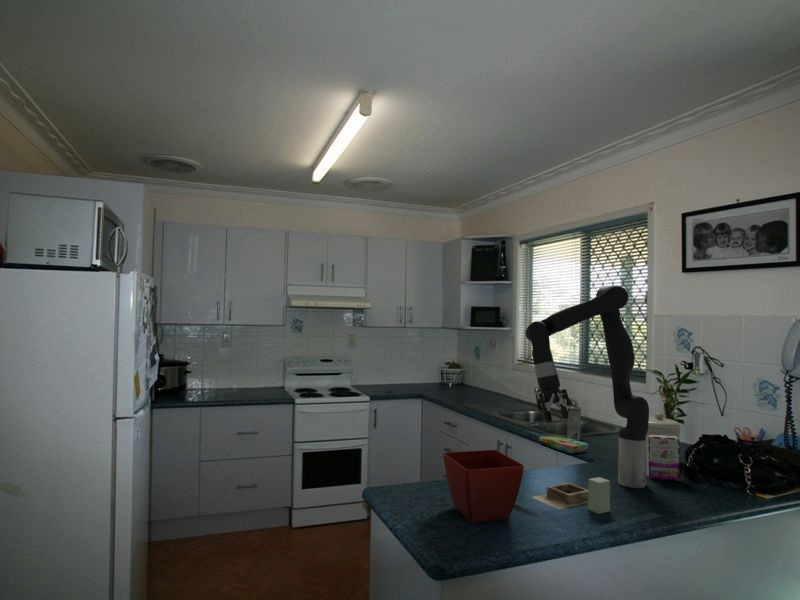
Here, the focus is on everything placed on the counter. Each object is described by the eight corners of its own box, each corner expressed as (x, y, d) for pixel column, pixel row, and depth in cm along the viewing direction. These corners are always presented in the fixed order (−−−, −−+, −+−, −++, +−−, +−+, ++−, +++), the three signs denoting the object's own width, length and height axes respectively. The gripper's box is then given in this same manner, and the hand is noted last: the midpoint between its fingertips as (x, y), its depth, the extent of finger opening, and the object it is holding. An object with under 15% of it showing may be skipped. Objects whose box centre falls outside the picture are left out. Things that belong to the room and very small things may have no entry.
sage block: (599, 509, 159) (599, 477, 160) (609, 513, 156) (610, 480, 156) (588, 511, 157) (588, 479, 157) (598, 516, 153) (599, 482, 154)
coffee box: (567, 436, 267) (568, 405, 267) (580, 437, 264) (581, 406, 265) (566, 440, 258) (567, 408, 259) (580, 441, 256) (580, 409, 257)
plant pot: (464, 529, 143) (466, 469, 144) (440, 505, 161) (442, 452, 162) (524, 523, 148) (525, 465, 149) (494, 500, 167) (495, 449, 167)
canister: (681, 468, 211) (681, 418, 212) (634, 461, 221) (634, 413, 222) (683, 459, 227) (683, 412, 228) (639, 452, 236) (639, 407, 237)
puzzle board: (577, 492, 177) (577, 479, 178) (605, 503, 167) (606, 489, 167) (531, 501, 166) (531, 487, 167) (559, 514, 156) (559, 499, 156)
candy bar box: (676, 477, 198) (676, 435, 199) (680, 481, 193) (680, 438, 194) (645, 474, 201) (645, 433, 202) (648, 478, 196) (648, 436, 197)
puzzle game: (570, 444, 229) (539, 435, 247) (570, 455, 229) (538, 445, 247) (588, 442, 235) (556, 433, 253) (588, 452, 235) (556, 442, 252)
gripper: (540, 375, 176) (552, 422, 172) (568, 371, 184) (579, 416, 180) (525, 379, 182) (536, 424, 179) (552, 375, 190) (563, 418, 186)
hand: (557, 420), depth 179 cm, fingers open, 8 cm apart
